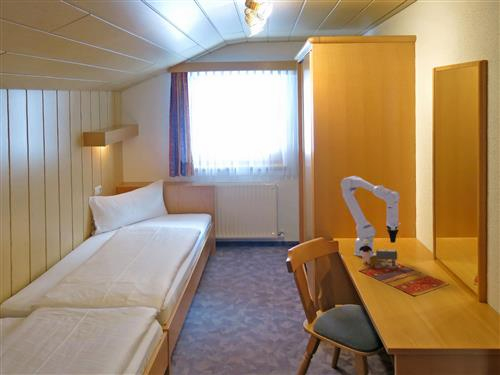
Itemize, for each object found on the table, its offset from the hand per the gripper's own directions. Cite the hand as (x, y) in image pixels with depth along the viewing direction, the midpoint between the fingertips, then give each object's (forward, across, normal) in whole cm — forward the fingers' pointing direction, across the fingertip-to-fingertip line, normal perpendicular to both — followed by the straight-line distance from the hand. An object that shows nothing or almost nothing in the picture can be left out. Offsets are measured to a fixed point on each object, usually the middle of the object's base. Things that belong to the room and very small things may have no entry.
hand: (392, 240), depth 276 cm
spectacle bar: (+6, -12, +3) cm, 14 cm away
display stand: (+10, -12, +4) cm, 16 cm away
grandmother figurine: (+10, -7, +14) cm, 18 cm away
